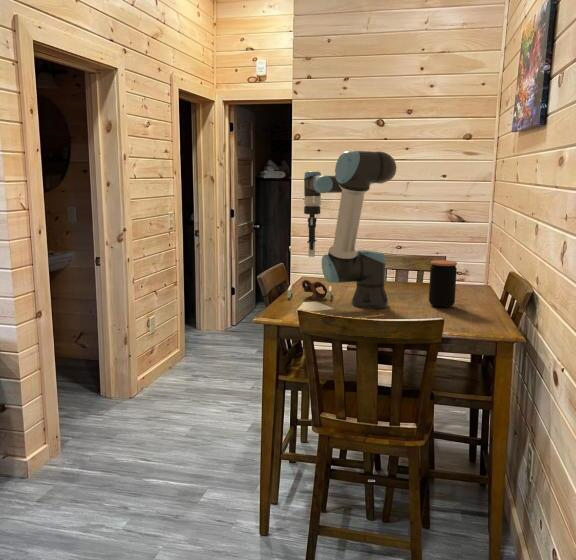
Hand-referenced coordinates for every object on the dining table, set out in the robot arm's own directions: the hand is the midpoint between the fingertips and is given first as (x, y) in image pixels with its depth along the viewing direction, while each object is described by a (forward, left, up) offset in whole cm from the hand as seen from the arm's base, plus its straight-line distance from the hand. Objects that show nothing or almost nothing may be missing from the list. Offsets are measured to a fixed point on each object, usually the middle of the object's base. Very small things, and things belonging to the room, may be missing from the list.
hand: (311, 256), depth 256 cm
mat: (-29, +17, -17) cm, 38 cm away
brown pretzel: (-12, +7, -17) cm, 22 cm away
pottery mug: (-12, +8, -16) cm, 22 cm away
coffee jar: (-48, -37, -17) cm, 63 cm away
